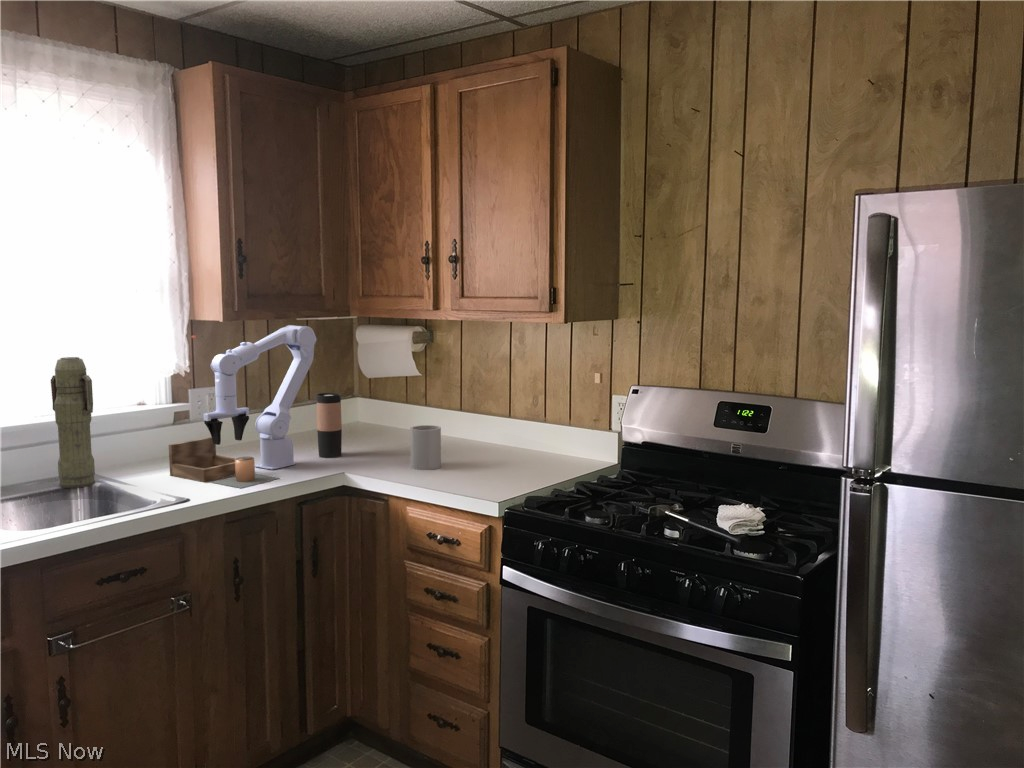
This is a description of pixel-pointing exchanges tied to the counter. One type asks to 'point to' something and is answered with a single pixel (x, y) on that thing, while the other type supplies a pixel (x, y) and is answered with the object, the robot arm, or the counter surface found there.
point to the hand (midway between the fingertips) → (227, 442)
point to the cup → (425, 447)
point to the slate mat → (234, 483)
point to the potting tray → (199, 461)
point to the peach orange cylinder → (244, 469)
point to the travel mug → (329, 425)
